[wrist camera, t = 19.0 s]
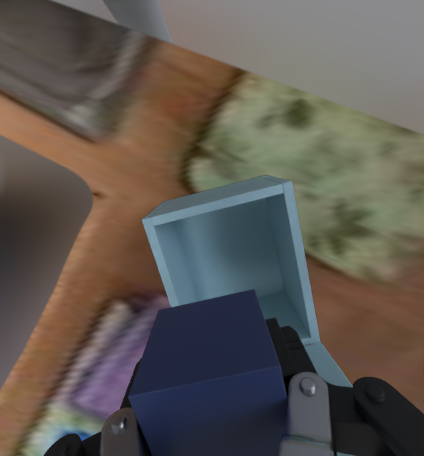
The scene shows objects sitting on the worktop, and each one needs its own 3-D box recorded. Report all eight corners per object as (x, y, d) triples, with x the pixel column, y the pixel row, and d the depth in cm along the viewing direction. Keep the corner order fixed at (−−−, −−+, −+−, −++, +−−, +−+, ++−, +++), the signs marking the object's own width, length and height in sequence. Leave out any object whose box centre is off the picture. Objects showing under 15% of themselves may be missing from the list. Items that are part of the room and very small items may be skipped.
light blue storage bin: (163, 201, 31) (141, 219, 21) (266, 174, 30) (291, 180, 20) (197, 313, 34) (192, 370, 25) (289, 291, 34) (320, 342, 24)
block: (158, 309, 13) (126, 397, 8) (254, 288, 13) (280, 365, 8) (184, 386, 14) (170, 502, 9) (272, 368, 14) (304, 478, 9)
